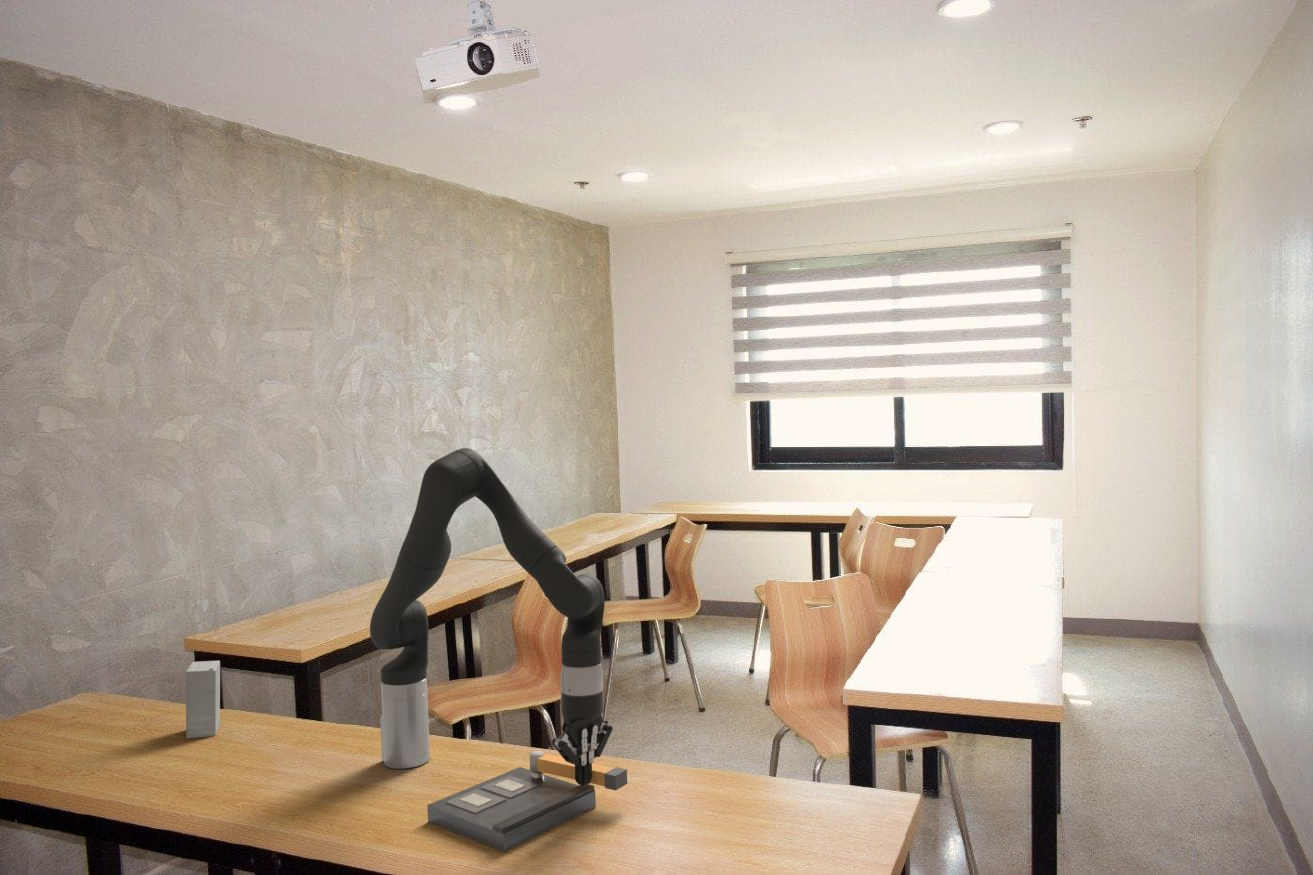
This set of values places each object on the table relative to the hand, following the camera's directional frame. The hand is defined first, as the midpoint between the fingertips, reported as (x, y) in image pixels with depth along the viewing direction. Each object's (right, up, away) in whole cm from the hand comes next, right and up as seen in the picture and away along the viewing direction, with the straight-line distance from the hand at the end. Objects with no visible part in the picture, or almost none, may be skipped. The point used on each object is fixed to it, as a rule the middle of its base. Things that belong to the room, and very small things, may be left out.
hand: (583, 783), depth 173 cm
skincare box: (-91, -6, +51) cm, 105 cm away
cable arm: (-2, -1, +5) cm, 6 cm away
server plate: (-13, -5, 0) cm, 14 cm away
